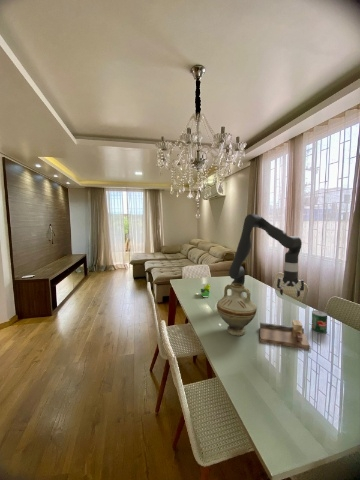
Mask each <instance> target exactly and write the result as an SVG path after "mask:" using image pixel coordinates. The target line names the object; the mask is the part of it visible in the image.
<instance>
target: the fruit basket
mask: <svg viewBox="0 0 360 480" xmlns="http://www.w3.org/2000/svg"><path fill="white" fill-rule="evenodd" d="M210 290H211V285H210V284H209V283H207V284H206V285H204V288H200V293H201V294H200V295H201V297H202V296H208V297H209V296H210Z"/></svg>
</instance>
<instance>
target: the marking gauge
mask: <svg viewBox="0 0 360 480" xmlns="http://www.w3.org/2000/svg"><path fill="white" fill-rule="evenodd" d="M302 328H303V324H302V321H301V320H298V319H297V320H296V319H292V332H293V335H294V337H297V339H298V341H300V342H301V341H302Z"/></svg>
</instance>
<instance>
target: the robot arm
mask: <svg viewBox="0 0 360 480" xmlns="http://www.w3.org/2000/svg"><path fill="white" fill-rule="evenodd" d="M254 228H259V229H261V230H264V231H265V232H266V234H267V235H268V236H269V237H271V238H272V239H274V240H276V241H277V242H278V243H280V245H281V246H283V247H284V248H286V249H288V251H287V252H285V254H284V263H283V277H282V278H280V277H278V278H277V283H276V288H277V289H279V293H280V295H281V296H284V294H283V292H284V291H283V290H284V288H286V287H294V288H295V289H296V298H299V297H300V295H301V292H302V291H304V290H305V286H304V285H305V283H304V282H305V281H304V279H298V278H299V277H298V276H299V254H300V251H301V249H302V244H303V242H302V239H301V238H300V237H299V236H298V235H293V236H290V235H288V234H287V232H286V231H285V230H283V229H281V228H279V227H277V226H275V225H274V224H272V223H270V222H269V221H267V220H266V219H265V218H264V217H263V216H261V215H259V214H256V213H255V214H254V213H252V214H251V213H250V214H249V213H248V214H247V215H246V216H245V218H244V221H243V226H242V231H241V235H240V239H239V242H238V245H237V247H236V251H235V255H234V258H233V260H232V263H231V265H230V267H229V271H228V274H229V277H230V279H232V280H233V281H231V283H230V285H231V284H233V283H237V284H242V285H244V286H245V279H246V277H245V276H246V272H245V268H244V267H243V266H242V264H243V263H244V261H245V260H246V259H247V258H248V256H249V255H250V252H251V250H252V246H253V245H252V243H253V242H252V239H251V238H252V237H251V234H252V230H253V229H254ZM281 282H283V283H282V284H280V283H281ZM298 283H299V284H300V287H299V285H298ZM230 291H231V292H230V295H232V294H233V291H232V290H231V289H230ZM244 293H245V292H242V293H241V295H242V296H244ZM244 297H245V296H244Z"/></svg>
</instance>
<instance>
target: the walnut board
mask: <svg viewBox="0 0 360 480" xmlns="http://www.w3.org/2000/svg"><path fill="white" fill-rule="evenodd" d="M259 332H260V333H259V335H260V336H259V337H260V343H267V344H273V345H280V346H287V347H292V348H299V349H306V350H310V346H311V345H310V344H309V341H308V339H307V336H306V334H305V328H304V327H302V341H301V342H300V341H298V339H297V337H294V335H293V332H292V326H291V325H283V324H276V323H267V322H260V323H259Z"/></svg>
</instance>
